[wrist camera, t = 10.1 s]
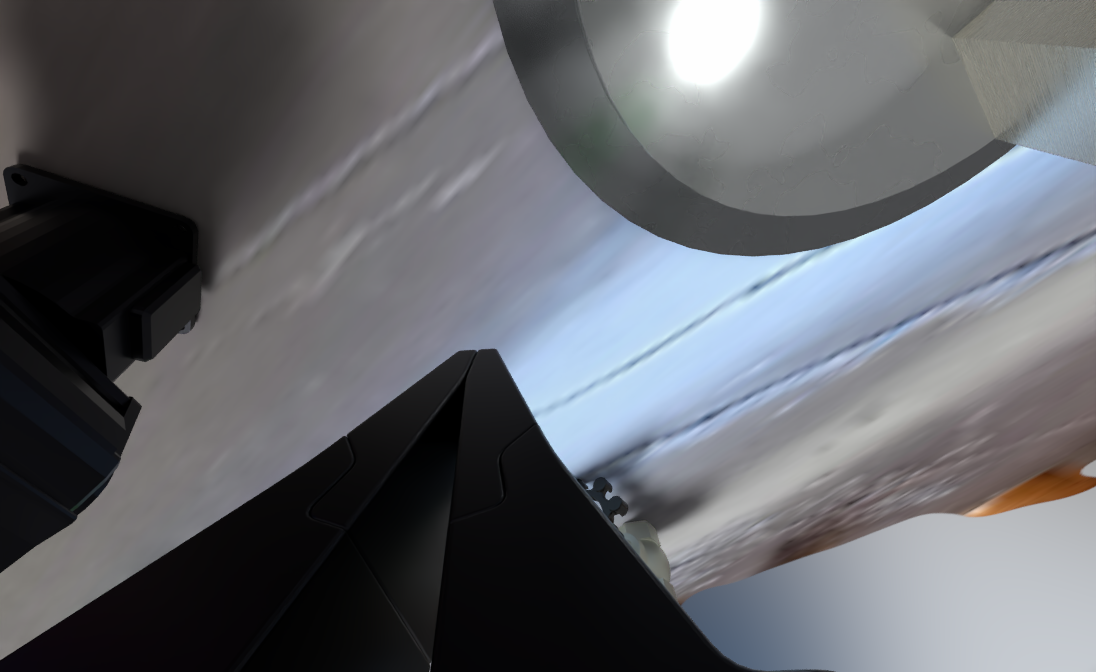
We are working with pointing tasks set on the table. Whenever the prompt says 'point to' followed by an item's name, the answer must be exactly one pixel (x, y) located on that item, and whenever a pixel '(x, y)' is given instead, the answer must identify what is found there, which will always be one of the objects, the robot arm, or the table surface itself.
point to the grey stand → (841, 90)
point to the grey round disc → (648, 188)
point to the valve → (634, 532)
